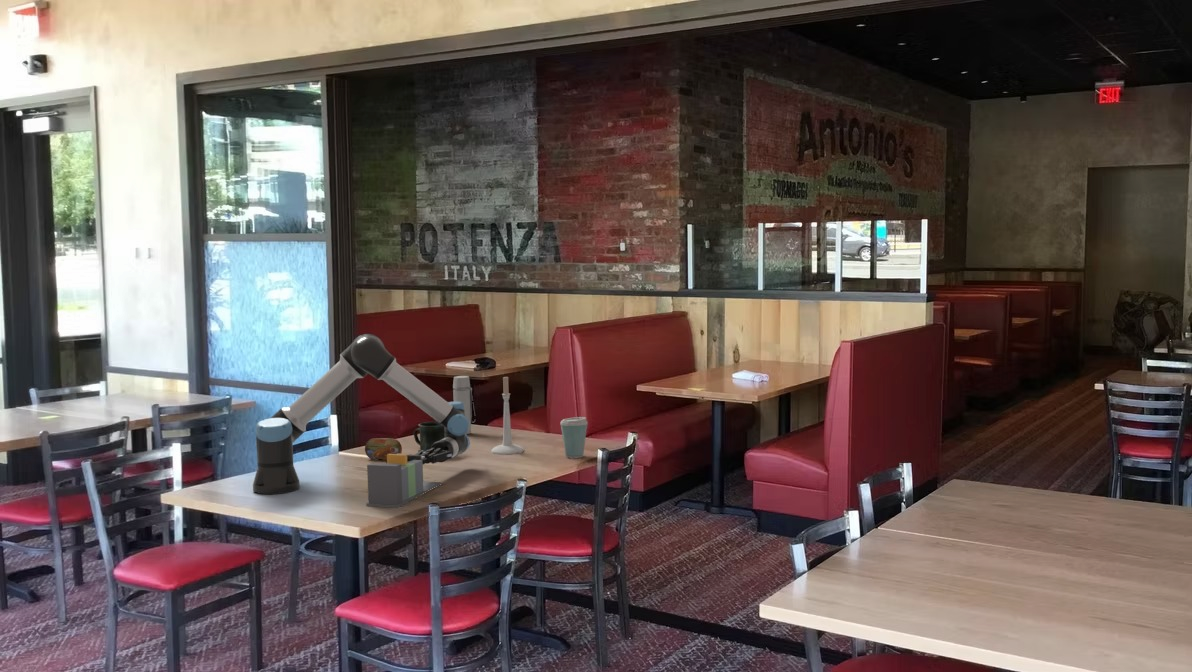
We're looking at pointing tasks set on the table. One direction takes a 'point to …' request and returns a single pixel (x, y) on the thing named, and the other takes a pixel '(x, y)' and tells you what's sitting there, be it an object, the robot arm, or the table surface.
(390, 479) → the grey stepped block
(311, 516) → the table surface
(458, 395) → the water bottle
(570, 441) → the disposable coffee cup
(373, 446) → the tin
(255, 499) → the table surface
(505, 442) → the candlestick
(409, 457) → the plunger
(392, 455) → the orange rectangular plank
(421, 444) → the mug
